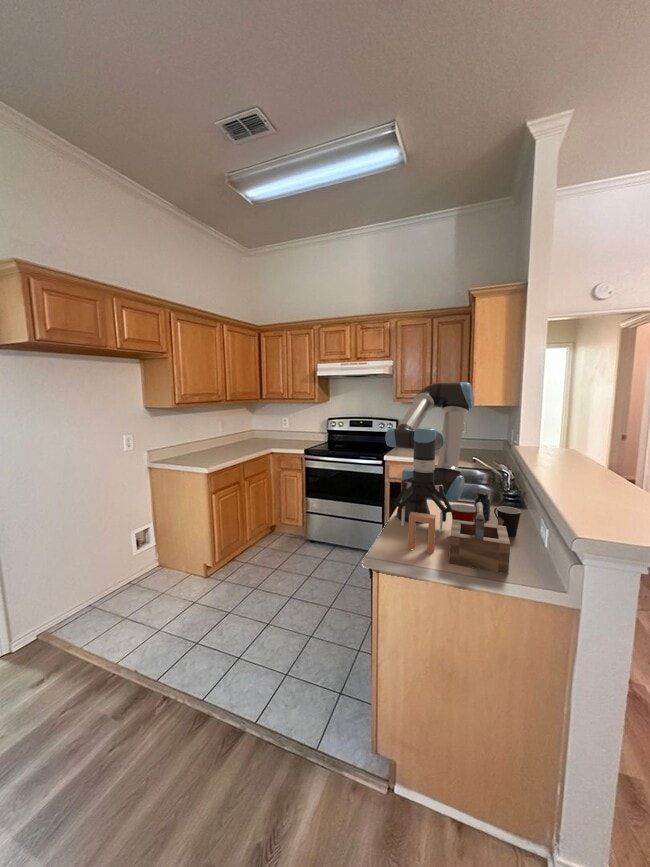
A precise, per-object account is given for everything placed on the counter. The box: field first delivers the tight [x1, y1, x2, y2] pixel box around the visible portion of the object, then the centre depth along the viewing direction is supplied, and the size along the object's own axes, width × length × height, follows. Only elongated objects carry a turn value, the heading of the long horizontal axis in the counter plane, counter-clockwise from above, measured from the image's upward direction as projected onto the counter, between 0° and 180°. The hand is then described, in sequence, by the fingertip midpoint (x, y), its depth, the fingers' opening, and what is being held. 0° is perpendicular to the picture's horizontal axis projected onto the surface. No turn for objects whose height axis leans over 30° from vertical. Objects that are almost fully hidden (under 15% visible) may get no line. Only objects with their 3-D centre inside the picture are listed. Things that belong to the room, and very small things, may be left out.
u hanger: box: [407, 512, 436, 554], centre depth 131 cm, size 4×9×13 cm, turn 68°
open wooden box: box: [448, 502, 511, 574], centre depth 123 cm, size 16×18×18 cm
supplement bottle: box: [473, 490, 491, 521], centre depth 162 cm, size 7×7×12 cm
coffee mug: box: [493, 506, 522, 538], centre depth 146 cm, size 12×9×10 cm
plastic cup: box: [450, 503, 476, 522], centre depth 143 cm, size 11×11×12 cm
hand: (421, 527), depth 130 cm, fingers open, 13 cm apart
